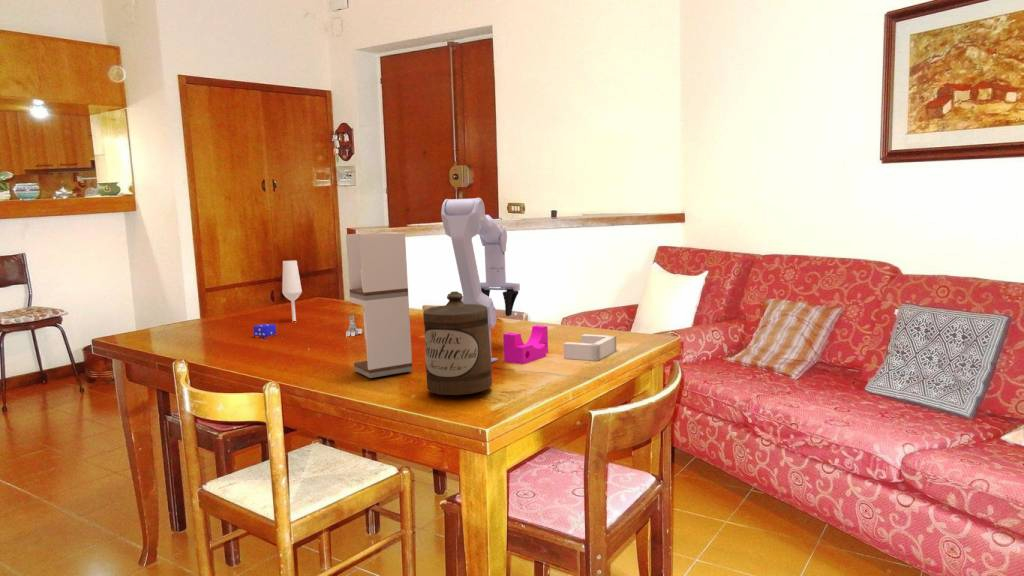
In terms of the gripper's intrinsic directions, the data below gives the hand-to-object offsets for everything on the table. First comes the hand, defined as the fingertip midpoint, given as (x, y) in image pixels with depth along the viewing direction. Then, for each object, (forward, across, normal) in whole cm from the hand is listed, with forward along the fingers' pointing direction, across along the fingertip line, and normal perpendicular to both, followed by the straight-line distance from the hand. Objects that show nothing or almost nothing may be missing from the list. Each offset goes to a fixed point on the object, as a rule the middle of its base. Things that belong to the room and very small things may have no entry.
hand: (497, 314), depth 203 cm
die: (+10, +79, +15) cm, 81 cm away
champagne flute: (+10, +88, -6) cm, 89 cm away
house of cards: (+10, +51, +2) cm, 52 cm away
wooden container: (+10, -14, +42) cm, 46 cm away
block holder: (+9, -29, 0) cm, 30 cm away
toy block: (+10, -15, +9) cm, 20 cm away
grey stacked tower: (+10, +13, +36) cm, 39 cm away
